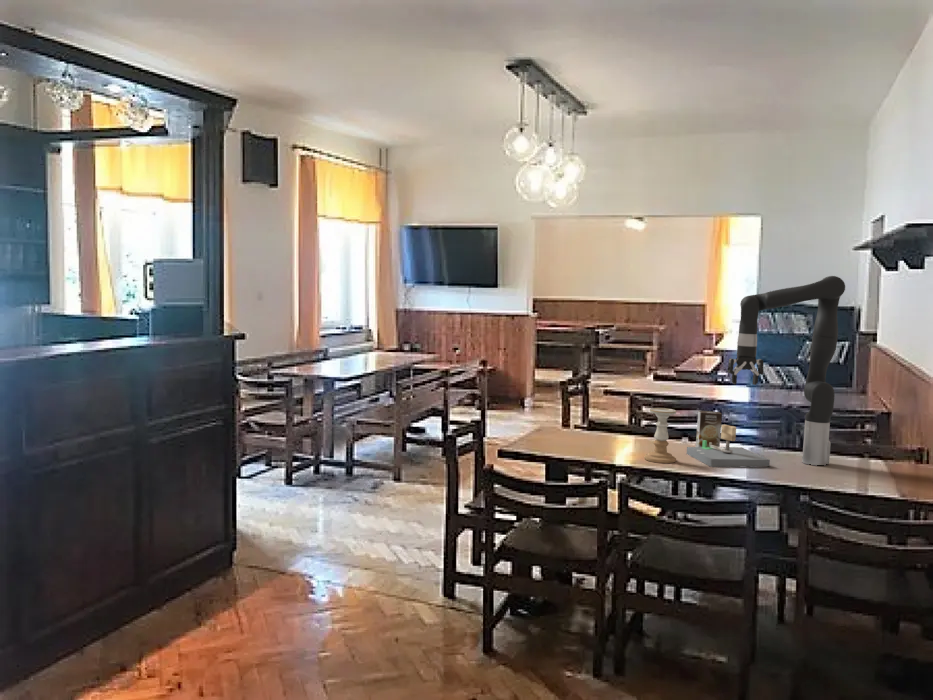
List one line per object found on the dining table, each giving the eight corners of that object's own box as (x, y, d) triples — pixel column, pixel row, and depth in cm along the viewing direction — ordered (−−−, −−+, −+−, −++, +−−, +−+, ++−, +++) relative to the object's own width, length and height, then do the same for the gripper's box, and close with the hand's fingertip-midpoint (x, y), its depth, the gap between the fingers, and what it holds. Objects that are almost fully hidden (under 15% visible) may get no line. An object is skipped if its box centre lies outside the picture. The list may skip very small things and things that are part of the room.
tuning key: (736, 453, 345) (738, 427, 344) (728, 453, 343) (730, 427, 342) (713, 447, 356) (714, 421, 356) (705, 447, 355) (707, 422, 354)
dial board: (741, 454, 360) (742, 440, 360) (769, 467, 337) (770, 452, 336) (686, 454, 357) (687, 439, 356) (711, 466, 333) (711, 451, 333)
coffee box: (697, 449, 367) (700, 412, 366) (695, 447, 374) (697, 410, 372) (719, 451, 366) (722, 413, 365) (717, 448, 373) (719, 411, 371)
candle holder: (652, 463, 335) (655, 412, 334) (639, 457, 347) (641, 407, 346) (681, 463, 338) (684, 412, 337) (667, 456, 350) (670, 407, 349)
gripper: (734, 345, 347) (731, 385, 348) (768, 346, 348) (765, 385, 350) (726, 343, 354) (724, 382, 356) (759, 344, 356) (757, 383, 357)
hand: (744, 384), depth 353 cm, fingers open, 8 cm apart
